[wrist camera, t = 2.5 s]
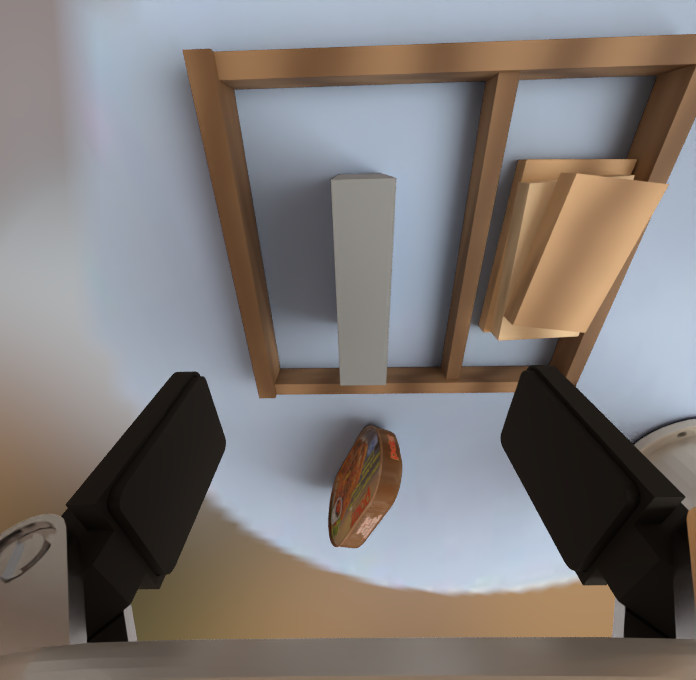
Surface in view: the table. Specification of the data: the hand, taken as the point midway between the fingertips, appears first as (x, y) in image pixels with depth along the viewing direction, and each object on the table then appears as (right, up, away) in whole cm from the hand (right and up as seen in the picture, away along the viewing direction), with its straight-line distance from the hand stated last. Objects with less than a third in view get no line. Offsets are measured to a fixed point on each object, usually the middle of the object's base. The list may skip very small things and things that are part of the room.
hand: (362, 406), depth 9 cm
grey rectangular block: (0, +9, +15) cm, 18 cm away
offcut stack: (+15, +9, +15) cm, 23 cm away
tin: (+1, -12, +28) cm, 30 cm away
